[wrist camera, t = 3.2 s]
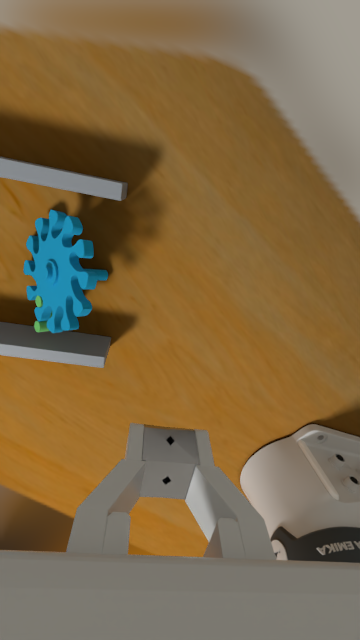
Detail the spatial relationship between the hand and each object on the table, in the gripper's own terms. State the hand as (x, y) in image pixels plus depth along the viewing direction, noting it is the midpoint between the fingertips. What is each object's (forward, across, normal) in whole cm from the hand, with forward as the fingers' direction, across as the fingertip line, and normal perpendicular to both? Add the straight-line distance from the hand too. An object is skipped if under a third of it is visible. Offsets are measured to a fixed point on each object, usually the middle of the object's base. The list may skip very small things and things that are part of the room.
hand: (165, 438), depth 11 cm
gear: (+20, -9, 0) cm, 22 cm away
